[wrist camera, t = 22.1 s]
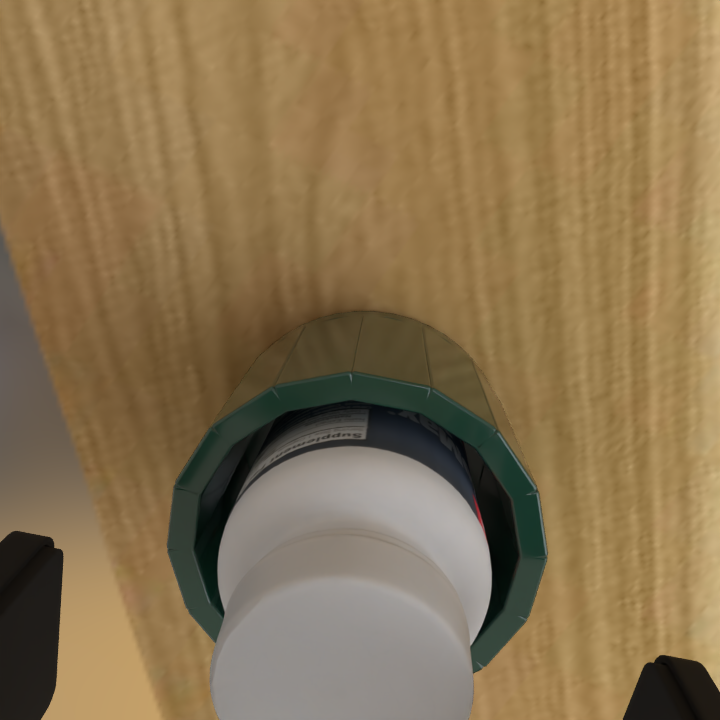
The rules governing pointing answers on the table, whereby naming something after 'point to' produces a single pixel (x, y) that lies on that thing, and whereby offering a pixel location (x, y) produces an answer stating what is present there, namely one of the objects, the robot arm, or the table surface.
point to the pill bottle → (352, 572)
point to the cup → (379, 387)
